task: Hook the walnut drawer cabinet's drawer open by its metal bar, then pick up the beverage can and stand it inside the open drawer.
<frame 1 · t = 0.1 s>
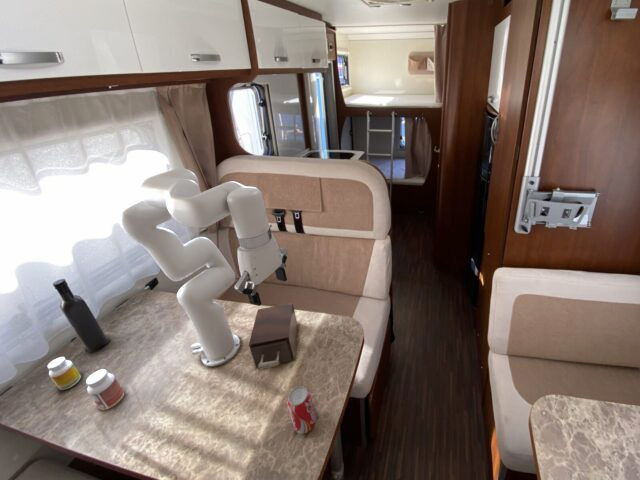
hand: (269, 291, 80), 37 cm above the table, tool pointing down, fingers open, 9 cm apart
supplement bottle: (70, 382, 100), on the table
pill bottle: (112, 400, 94), on the table
drawer: (273, 343, 103), point 5 cm above the table, slide at 0.0 cm
wine bottle: (97, 345, 113), on the table
beverage can: (305, 423, 85), on the table
cabinet: (278, 344, 109), on the table
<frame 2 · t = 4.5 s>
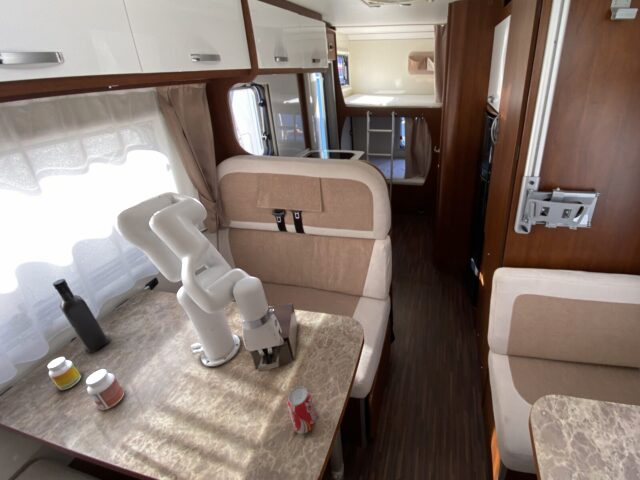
hand: (270, 359, 95), 7 cm above the table, tool pointing down, fingers closed
drawer: (273, 344, 103), point 5 cm above the table, slide at 0.5 cm, touching gripper
everything else where it was.
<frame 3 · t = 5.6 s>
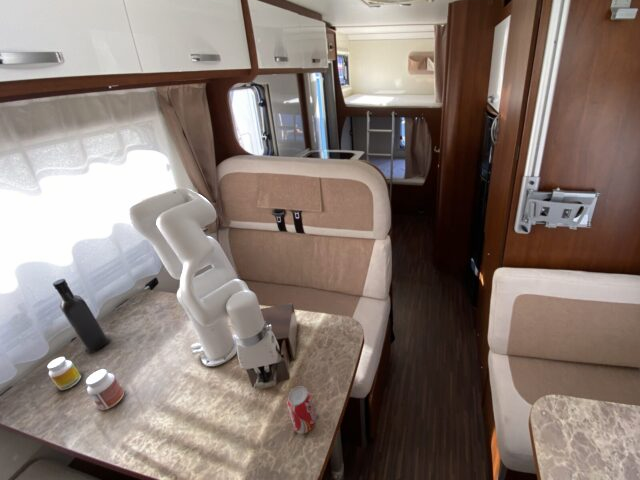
hand: (267, 377, 90), 7 cm above the table, tool pointing down, fingers closed
drawer: (270, 360, 97), point 5 cm above the table, slide at 6.6 cm, touching gripper
everything else where it was.
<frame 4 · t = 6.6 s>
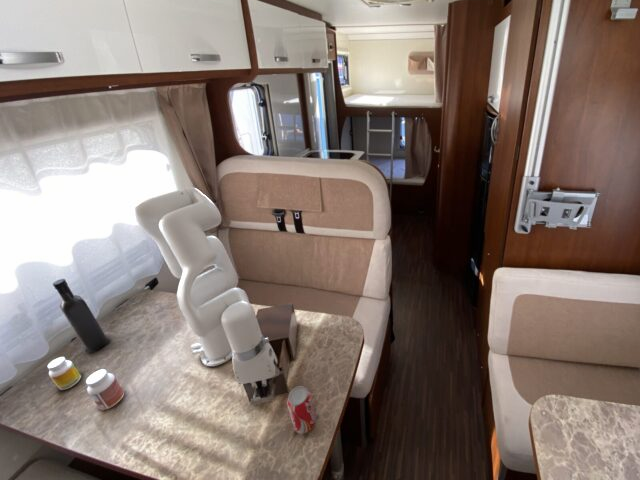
hand: (264, 392, 86), 7 cm above the table, tool pointing down, fingers closed
drawer: (268, 372, 93), point 5 cm above the table, slide at 11.0 cm, touching gripper
everything else where it was.
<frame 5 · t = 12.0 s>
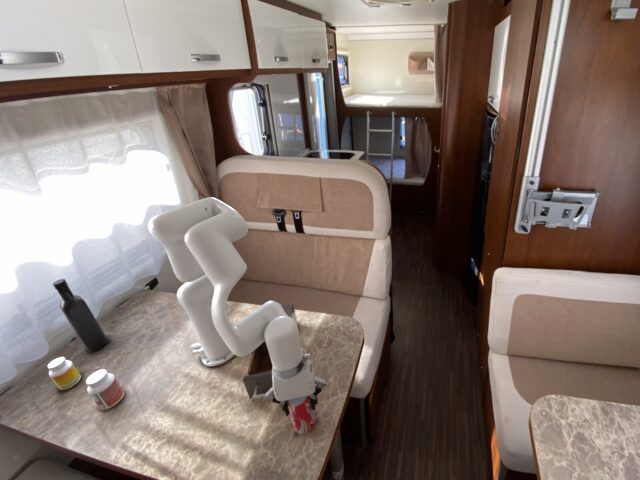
hand: (301, 407, 82), 7 cm above the table, tool pointing down, fingers closed on beverage can, 6 cm apart
drawer: (268, 370, 94), point 5 cm above the table, slide at 10.3 cm
beverage can: (305, 423, 85), on the table, touching gripper
everything else where it was.
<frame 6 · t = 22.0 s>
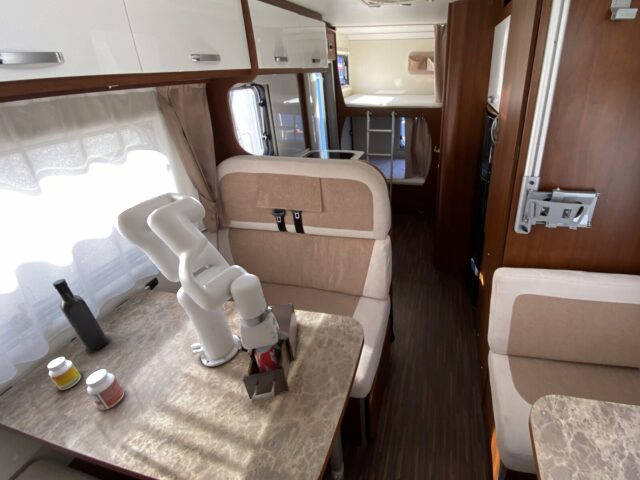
hand: (267, 357, 94), 9 cm above the table, tool pointing down, fingers closed on beverage can, 6 cm apart
drawer: (268, 370, 94), point 5 cm above the table, slide at 10.3 cm, touching gripper
beverage can: (271, 372, 97), point 2 cm above the table, touching gripper
everything else where it was.
when the fingers open (10 cm above the table, at t = 25.1 s): beverage can stays where it is, resting on drawer.
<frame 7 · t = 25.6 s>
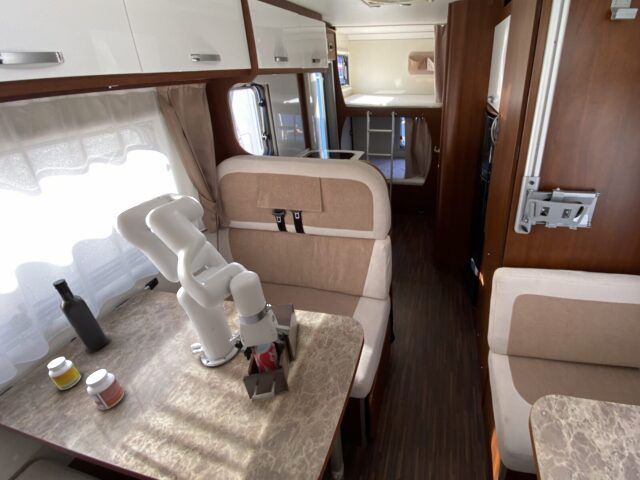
hand: (266, 353, 93), 11 cm above the table, tool pointing down, fingers open, 9 cm apart
drawer: (268, 370, 94), point 5 cm above the table, slide at 10.3 cm, touching beverage can
beverage can: (271, 372, 97), point 2 cm above the table, touching drawer
everything else where it was.
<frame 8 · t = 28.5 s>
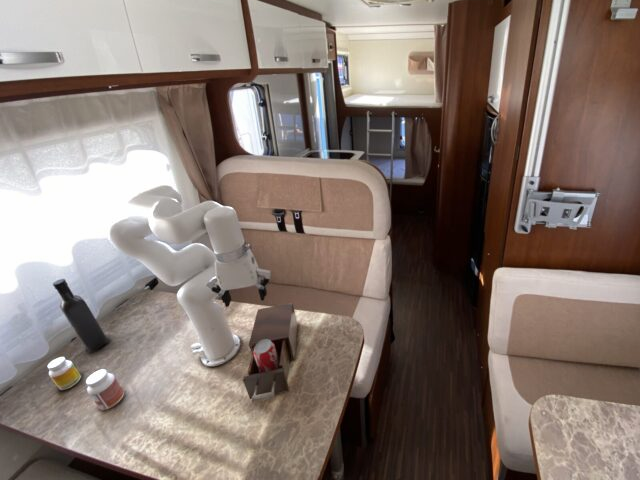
hand: (246, 300, 88), 30 cm above the table, tool pointing down, fingers open, 9 cm apart
nothing on the table moved.
at the end: drawer slide at 10.3 cm; beverage can inside the target area in the drawer (0.3 cm from its centre), point 1.8 cm above the cabinet's base; beverage can tilted 0° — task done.
